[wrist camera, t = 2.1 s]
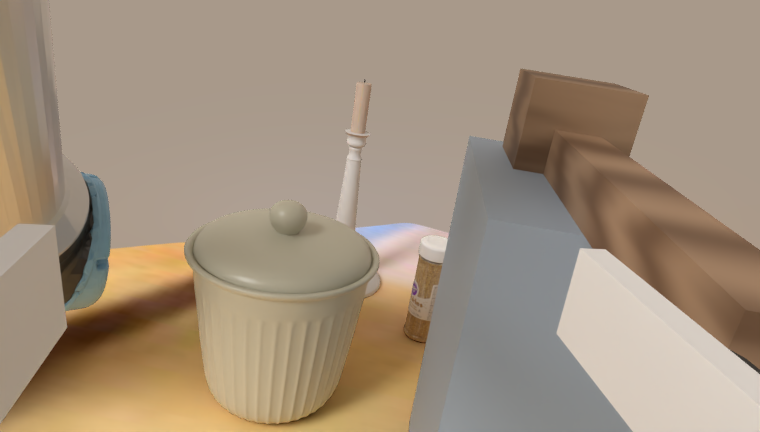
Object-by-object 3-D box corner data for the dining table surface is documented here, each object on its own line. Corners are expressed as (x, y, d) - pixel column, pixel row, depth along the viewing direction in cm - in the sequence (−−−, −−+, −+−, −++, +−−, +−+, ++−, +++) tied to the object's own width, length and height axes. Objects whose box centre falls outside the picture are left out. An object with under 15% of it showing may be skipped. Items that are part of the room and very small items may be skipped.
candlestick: (278, 277, 78) (296, 71, 68) (329, 252, 89) (352, 70, 78) (348, 310, 73) (380, 90, 62) (394, 279, 83) (428, 87, 73)
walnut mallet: (902, 450, 13) (1043, 231, 11) (621, 395, 14) (705, 174, 12) (591, 161, 41) (614, 83, 39) (502, 146, 42) (520, 68, 40)
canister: (260, 489, 44) (279, 265, 37) (146, 381, 54) (143, 187, 47) (391, 393, 58) (424, 215, 51) (280, 321, 68) (295, 163, 60)
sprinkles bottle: (397, 327, 70) (413, 235, 66) (424, 321, 73) (443, 232, 68) (415, 346, 67) (435, 251, 62) (444, 340, 69) (465, 247, 64)
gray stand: (569, 669, 35) (747, 264, 24) (391, 629, 36) (488, 218, 25) (526, 445, 54) (615, 160, 43) (409, 421, 54) (469, 135, 44)
